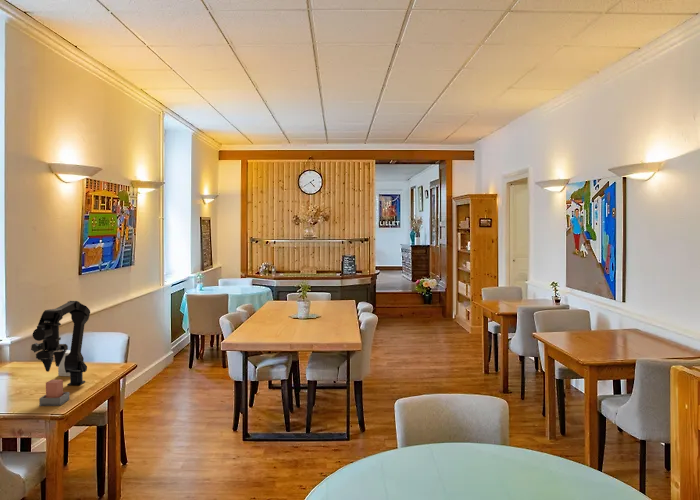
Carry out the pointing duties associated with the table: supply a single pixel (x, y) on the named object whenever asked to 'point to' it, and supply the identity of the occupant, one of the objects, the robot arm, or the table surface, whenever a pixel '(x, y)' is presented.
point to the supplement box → (61, 367)
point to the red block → (54, 388)
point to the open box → (54, 400)
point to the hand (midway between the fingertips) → (52, 368)
